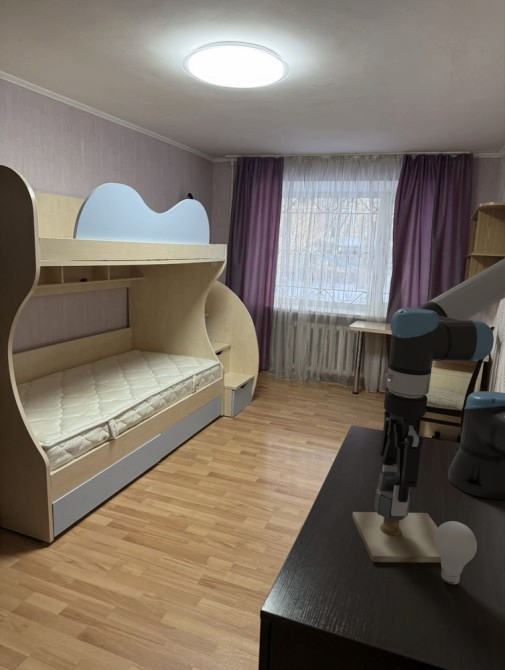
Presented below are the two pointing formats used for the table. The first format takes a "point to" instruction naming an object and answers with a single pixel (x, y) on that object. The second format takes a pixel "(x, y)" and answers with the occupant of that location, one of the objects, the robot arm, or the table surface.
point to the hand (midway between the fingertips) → (392, 504)
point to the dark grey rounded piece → (387, 496)
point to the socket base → (398, 537)
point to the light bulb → (454, 549)
